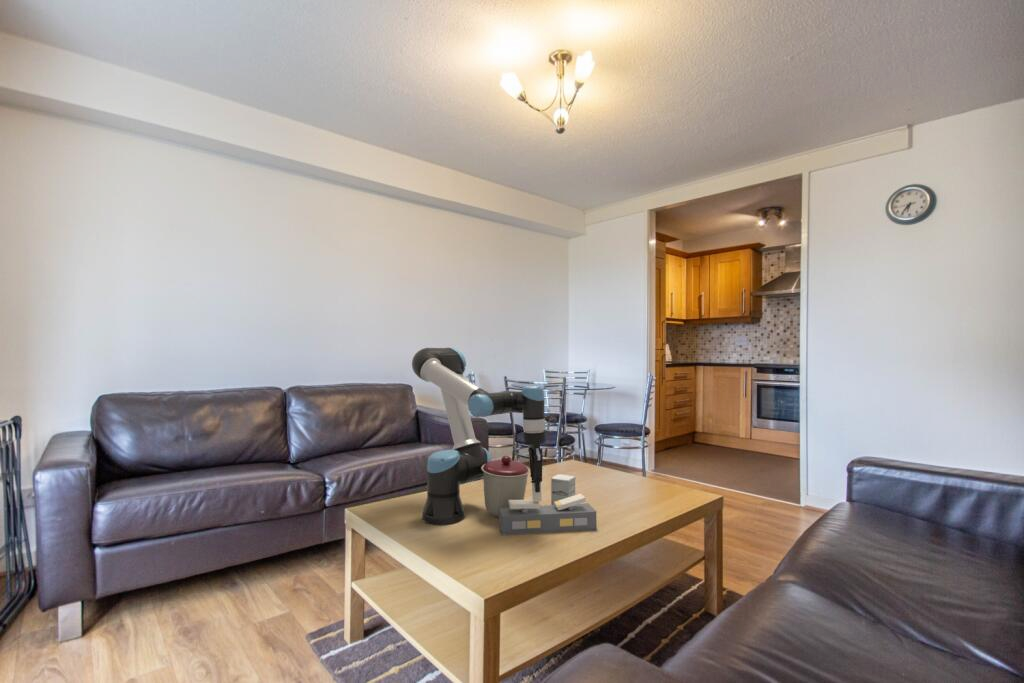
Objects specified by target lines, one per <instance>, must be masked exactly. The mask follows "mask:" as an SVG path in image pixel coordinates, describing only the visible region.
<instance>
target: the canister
mask: <svg viewBox="0 0 1024 683" xmlns="http://www.w3.org/2000/svg"><path fill="white" fill-rule="evenodd" d="M481 469H482V471H483V478H482V481H483V494H484V495H483V496H484V506H485V509H486V511H487V512H488V513H489V514H490V515H492V516H494V517H498V518H499V508H508V507H509V504H508V500H525V495H526V487H527V483H528V476H529V474H530V467H529V466H527V465H526V464H525V463H522V462H520V461H517V460H512V459H511V457H510V456H509V455H503V456H502V457H501V459H494V460H491V461H490V462H488V463H486V464H484V465H483V466H482V467H481Z"/></svg>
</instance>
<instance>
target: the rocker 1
mask: <svg viewBox="0 0 1024 683" xmlns="http://www.w3.org/2000/svg"><path fill="white" fill-rule="evenodd" d="M508 504H509V507H510V509H540V506H541V503H540V502H533V499H524V500H508Z"/></svg>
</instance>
